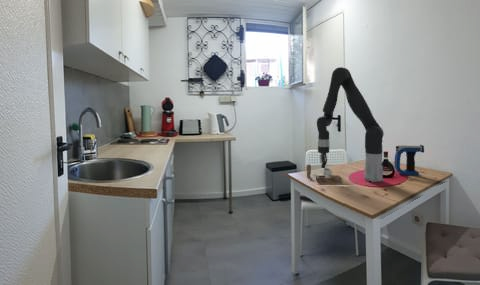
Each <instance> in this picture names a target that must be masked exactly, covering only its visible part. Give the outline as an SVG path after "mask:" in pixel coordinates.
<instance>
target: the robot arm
mask: <svg viewBox="0 0 480 285" xmlns="http://www.w3.org/2000/svg"><path fill="white" fill-rule="evenodd" d="M331 74H332V75H331V77H330V84H329V87H328V88H329V89H328V93H327V97H326V100H325V101H324V104H323V108H322V112H323V113H324V114H323V116H318V118H317V119H316V128H317V132H318V136H317V138H318V139H317V140H318V141H317V153H318V154H319V153H320V155H319V160H320V165H321V167H320V168H326V165H327V163H328V156H327V154H329V153H330V131H329V130H328V129H327V128H328V127H330V125H331V124H332V122H333V118H334V112H335V108H336V106H337V103H338V97H339V91H340V88H341V87H342V88H343V90H344V94H345V97H346V100H347V103H348V105H349V107H350V109H351V111H352V112H353V114H354V115H355V116H356V118H357V119H358V120H359V121H360V122H361V123H362V125H363V127H364V129H365V135H364V136H365V137H364V149H365V154H364V175H363V176H364V178H363V180H364V179H365V180H364V181H366V182H369V181H371V183H380V182H383V174H384V165H383V137H384V135H385V133H384V129H383V128H382V127H381V126H380V124H379V123H378V122H377V121H376V119H375V117H374V115H373V112H372V110H371V108H370V107H369V104H368V102H367V101H366V99H365V98H364V95H363V94H362V93H361V91H360V90H359V88H358V87H357V84H356V83H355V81H354V79H353V77H352V74H351V72H350V70H349V69H348V68H346V67H343V66H342V67H341V66H340V67H336V68H335V69H333V71H332V73H331Z"/></svg>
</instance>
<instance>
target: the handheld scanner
mask: <svg viewBox="0 0 480 285" xmlns="http://www.w3.org/2000/svg"><path fill="white" fill-rule="evenodd" d="M395 151H396V152H395V153H394V169H395V171H397V173H398V174H401V175H403V176H419V175H420V172H419V171H418V170H416V169H415V168H416V160H415V157H416V155H417V153H420V152H421V153H425V146H424V145H423V144H419V145H407V144H405V145H403V144H402V145H400V144H399V145H395ZM403 153H405V156H406V162H405V163H406V166H405V167H406V168H405V170H404V169H402V168H401V156H402V154H403Z"/></svg>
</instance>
